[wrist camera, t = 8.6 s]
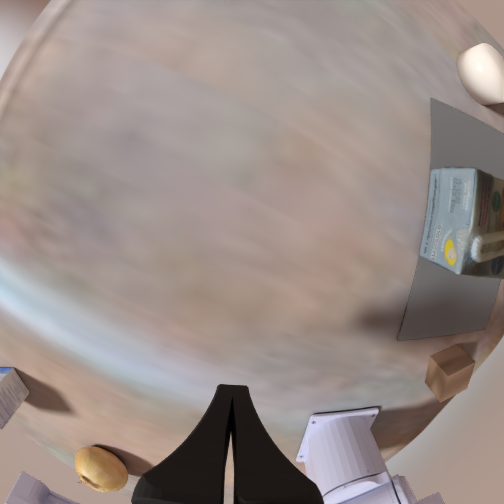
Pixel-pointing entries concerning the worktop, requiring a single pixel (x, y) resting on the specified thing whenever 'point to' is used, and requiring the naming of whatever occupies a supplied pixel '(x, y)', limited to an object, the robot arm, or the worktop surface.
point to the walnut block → (449, 372)
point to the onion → (100, 469)
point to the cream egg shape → (482, 74)
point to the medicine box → (10, 394)
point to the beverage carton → (465, 222)
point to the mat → (427, 273)
